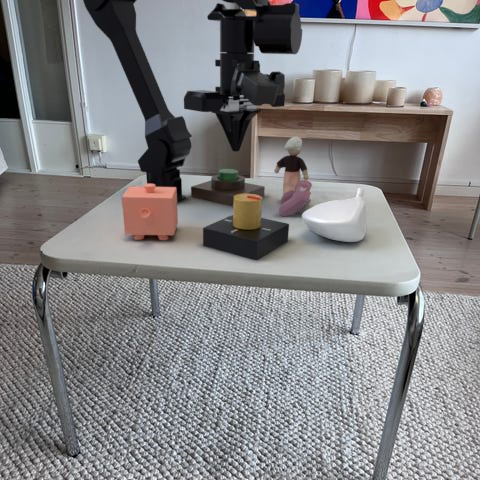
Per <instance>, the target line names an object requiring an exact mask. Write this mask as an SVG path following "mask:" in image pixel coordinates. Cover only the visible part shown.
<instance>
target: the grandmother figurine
mask: <svg viewBox="0 0 480 480" xmlns="http://www.w3.org/2000/svg"><path fill="white" fill-rule="evenodd" d="M302 146H303V139H302V138H301V137H299V136H296V135H295V136H293V137H290V138H289V139H287V141H286V143H285V145H284V149H285V150H286V151H287V153H288V154H289V155H284V156H283V157H281V158H280V159H279V160H278V161H277V162H276V165H275V168H274V171H273V172H274V173H275V174H279V173H280V170H281V169H283V168H284V173H283V181H282V196H283V195H284V194H285V193H286V192H288V191H290V190H293V189H294V190H293V191H295V186H296V184H297V183H298V182H299V181H301V173H302V176H303V178H302V179H303V180H307V181H308V180H309V178H310V177H309V173H308V167H307V165H306V163H305V161H304V159H303V158H301V157H300V156H299V155H300V154H301V151H302ZM294 194H295V193H294ZM294 194H293V196H294ZM293 196H292V197H293ZM280 202H281V203H282V204H283V203H285V202H282V200H281V201H280Z"/></svg>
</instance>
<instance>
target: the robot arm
mask: <svg viewBox="0 0 480 480" xmlns="http://www.w3.org/2000/svg"><path fill="white" fill-rule="evenodd" d="M137 1H138V0H82V2H83V4H84V8H85V9H86V11H87V13H88V14H89V16H90V18H91V19H92V21H93V23H94V24H95V26H97V28H98V29H99V31H100V32H102V33H103V34H104V35H105V36H106V37H107V38H108V39H109V41H110V43H111V45H112V47H113V49H114V52H115V54H116V56H117V58H118V61H119V63H120V65H121V67H122V71H123V72H124V74H125V77H126V80H127V81H128V84H129V86H130V88H131V91H132V93H133V96H134V99H135V100H136V102H137V105H138V107H139V109H140V112H141V114H142V116H143V118H144V139H145V142H146V146H147V149H146V150H145V151H144V153H143V154H142V155H141V156H140V157H139V158H138V160H137V163H138V167H139V169H140V171H141V172H142V173H145V174H146V176H145V177H146V184H155V187H176V189H177V202H181V201H183V200H186V198H187V197H186V195H184V194H183V186H182V185H183V182H182V181H183V180H182V177H181V171H180V170H181V169H179V168H181V167H184V165H185V161H186V158H187V157H188V156H189V155H190V153H191V150H192V141H191V138H193V135H192V134H191V132H190V131H189V129H188V127H187V124H186V119H185V118H184V116H182V115H180V116H175V115H174V114H173V113H172V112H171V111H170V109H169V108H168V105H167V103H166V101H165V97H164V96H163V93H162V91H161V88H160V86H159V84H158V81H157V79H156V77H155V74H154V72H153V69H152V66H151V64H150V62H149V60H148V57H147V55H146V52H145V50H144V47H143V46H142V43H141V40H140V38H139V36H138V33H137V12H136V8H135V5H134V4H135V3H136V2H137ZM222 1H223V2H225V3H229V4H233V5H237V6H238V7H239V8H228V7H226V6H225V4H223V3H216V5H215V6H214V8H213V10H211V11H210V12H209V14H207V17H206V19H207V20H208V21H214V22H219V59H215V60H214V65H215V67H218V68H219V86H215V88H214V89H215V90H214V91H213V90H206V89H201V90H200V89H199V90H187V91H186V93H185V94H184V97H183V109H184V110H189V111H194V112H199V113H200V112H201V113H211V114H215V117H216V118H217V120H218V122H219V123H220V125H221V128H222V130H223V132H224V134H225V137H226V139H227V142H228V143H229V147H230V148H231V151H233V152H234V153H235V152H240V151H241V147H242V144H243V142H244V138H245V136H246V132H247V130H248V127H249V125H250V123H251V121H252V119H254V118H255V117H256V116H257V115H259V114H261V113H262V109H257V107H261V106H263V105H268V106H271V107H272V108H280V107H285V102H286V99H285V98H286V95H285V92H284V91H285V85H286V82H285V81H286V79H285V77H286V76H285V73H283V72H281V71H279V70H278V71H271V72H270V73H269V74H268V73H262V72H261V63H260V60H255V47H258V50H259V52H260V53H261V54H264V55H297V54H298V53H299V51H300V48H301V46H302V45H301V44H302V39H303V29H302V19H301V16H300V5H299V4H298V3H296V2H286V3H284V4H271V2H270V0H222ZM245 10H246V11H250V12H255V15H251V16H250V15H246V13H245Z"/></svg>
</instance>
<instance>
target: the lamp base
mask: <svg viewBox="0 0 480 480" xmlns="http://www.w3.org/2000/svg"><path fill="white" fill-rule="evenodd" d="M265 188H266V187H265V185H259V184H255V183H249V182H246V177H245V176H243V175H241V174H238V179H237V180H232V181H228V180H220V179H219V174H214V175H212V176H211V178H210V180H208V181H205V182H201V183H198V184H195V185H192V186H190V197H191V198H195V199H199V200H204V201H209V202H214V203H219V204H223V205H227V206H232V207H233V203H234V196H235V195H238V194H256V195H259V196H261V197H262V198H264V197H265V190H266V189H265Z"/></svg>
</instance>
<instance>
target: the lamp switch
mask: <svg viewBox="0 0 480 480" xmlns="http://www.w3.org/2000/svg"><path fill="white" fill-rule="evenodd" d="M218 175H219V179H220V180H228V181H232V180H237V179H238V175H239V171H238V170H237V169H233V168H222V169H219V170H218Z"/></svg>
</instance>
